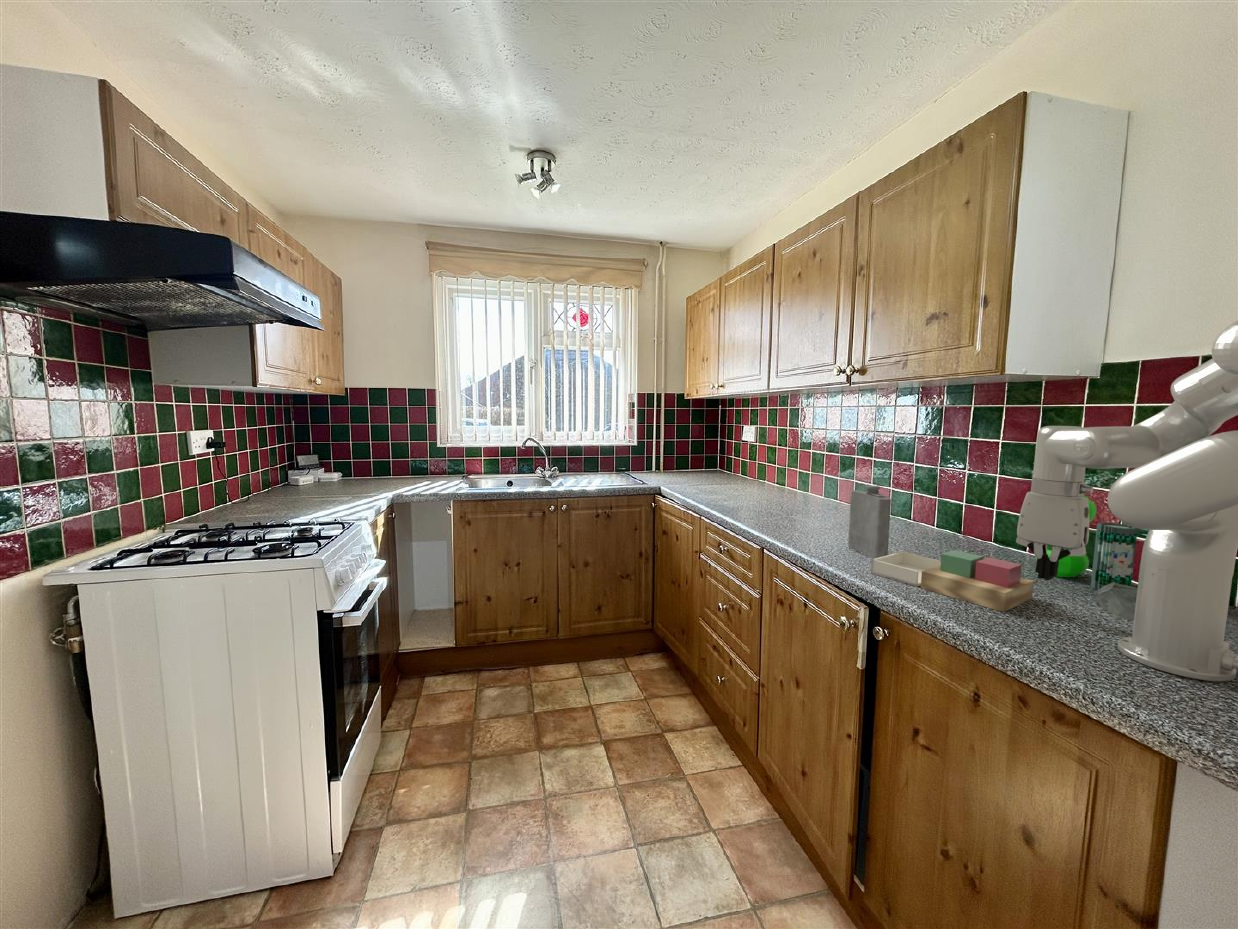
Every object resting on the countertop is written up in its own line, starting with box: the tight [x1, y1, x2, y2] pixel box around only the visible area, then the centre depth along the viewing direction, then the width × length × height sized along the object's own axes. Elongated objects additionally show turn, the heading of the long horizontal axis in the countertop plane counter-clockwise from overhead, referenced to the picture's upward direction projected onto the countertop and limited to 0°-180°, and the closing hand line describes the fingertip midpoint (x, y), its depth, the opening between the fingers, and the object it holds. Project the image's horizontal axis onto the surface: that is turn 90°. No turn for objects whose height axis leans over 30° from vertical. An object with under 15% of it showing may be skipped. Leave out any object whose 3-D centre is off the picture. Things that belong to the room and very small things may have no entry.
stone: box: [1094, 582, 1138, 621], centre depth 98 cm, size 11×4×10 cm
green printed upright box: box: [1090, 522, 1139, 590], centre depth 110 cm, size 6×6×15 cm
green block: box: [940, 549, 985, 578], centre depth 110 cm, size 6×6×4 cm
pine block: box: [920, 565, 1035, 613], centre depth 108 cm, size 16×14×4 cm
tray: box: [870, 550, 941, 587], centre depth 120 cm, size 11×14×4 cm
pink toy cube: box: [975, 557, 1022, 588], centre depth 104 cm, size 6×6×4 cm
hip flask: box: [847, 484, 892, 560], centre depth 137 cm, size 16×4×20 cm, turn 5°
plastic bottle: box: [1034, 494, 1097, 578], centre depth 120 cm, size 10×10×25 cm
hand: (1045, 577), depth 97 cm, fingers closed
